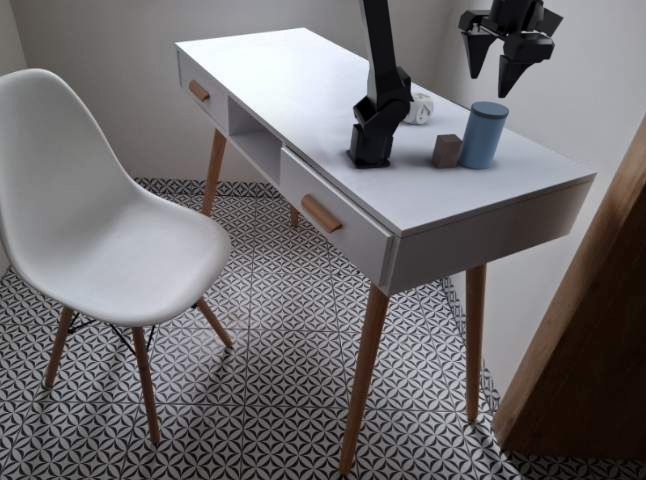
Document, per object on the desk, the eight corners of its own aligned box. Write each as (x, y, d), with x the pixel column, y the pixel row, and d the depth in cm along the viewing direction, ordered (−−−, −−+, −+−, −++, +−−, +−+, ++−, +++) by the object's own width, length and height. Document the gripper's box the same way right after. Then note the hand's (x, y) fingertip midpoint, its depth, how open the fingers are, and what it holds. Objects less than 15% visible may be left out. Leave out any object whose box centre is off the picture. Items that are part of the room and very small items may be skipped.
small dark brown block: (438, 168, 92) (445, 142, 88) (431, 160, 94) (437, 134, 91) (455, 167, 92) (462, 141, 89) (447, 159, 94) (454, 133, 91)
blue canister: (448, 145, 87) (505, 96, 84) (432, 130, 92) (486, 83, 88) (477, 184, 94) (532, 140, 90) (461, 168, 98) (513, 125, 95)
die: (431, 122, 108) (436, 98, 104) (413, 126, 105) (418, 102, 102) (414, 113, 111) (419, 90, 108) (397, 118, 109) (401, 94, 105)
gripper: (607, -4, 71) (563, 107, 81) (530, -29, 85) (501, 68, 95) (535, -3, 69) (499, 110, 79) (469, -29, 83) (445, 70, 93)
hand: (487, 88), depth 87 cm, fingers open, 9 cm apart
